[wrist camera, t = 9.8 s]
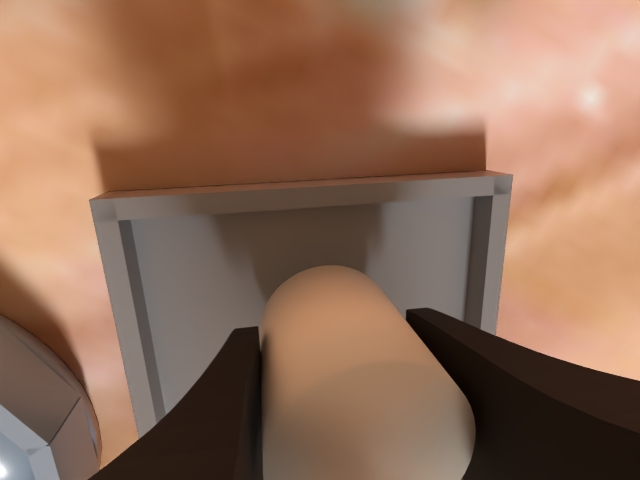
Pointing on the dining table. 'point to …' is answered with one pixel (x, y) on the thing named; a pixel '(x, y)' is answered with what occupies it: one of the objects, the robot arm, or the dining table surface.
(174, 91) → the dining table surface
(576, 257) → the dining table surface
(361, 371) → the beige rounded cylinder
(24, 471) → the bowl
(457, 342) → the robot arm
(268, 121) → the dining table surface
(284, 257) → the parts tray
